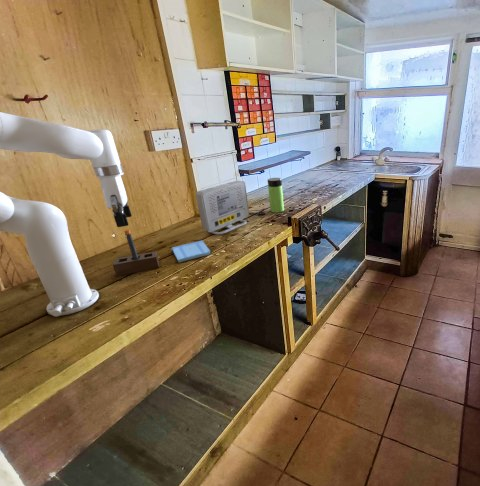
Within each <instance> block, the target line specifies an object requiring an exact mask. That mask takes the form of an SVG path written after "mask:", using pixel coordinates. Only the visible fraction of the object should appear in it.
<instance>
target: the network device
mask: <svg viewBox="0 0 480 486" xmlns="http://www.w3.org/2000/svg"><path fill="white" fill-rule="evenodd" d="M247 194H248V193H247V187H246V182H245V181H244V180H239V179H237V180H233V181H230V182H226V183H223V184H219V185H215V186H211V187H209V188H204V189H202V190H198V191H197V192H195V198H196V199H195V200H196V204H197V209H198V213H199V214H198V215H199V218H200V224H201V229H202V230H203V231H204V232H208V233H210V234H213V235H224V234H226V233H228V232H231V231H233V230H235V229H237V228H239V227H242V226H244V225H247V224H248V220H245V219H246V218H248V217H249V216H250V209H249V201H248V195H247ZM236 222H241V223H239V224H237V225H233V224H234V223H236ZM222 228H225V230H223V231H220V232H219V231H218V230H219V229H222Z"/></svg>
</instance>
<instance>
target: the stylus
mask: <svg viewBox="0 0 480 486" xmlns="http://www.w3.org/2000/svg"><path fill="white" fill-rule="evenodd" d="M124 234H125V239H126V241H127V243H128V246H129V247H128V248H129V250H130V253H131V256H132V257H133V260H134V259H138V253H137V249H136V246H135V243H134V240H133V236H132V232H131V230H130V229H125V230H124Z"/></svg>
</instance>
